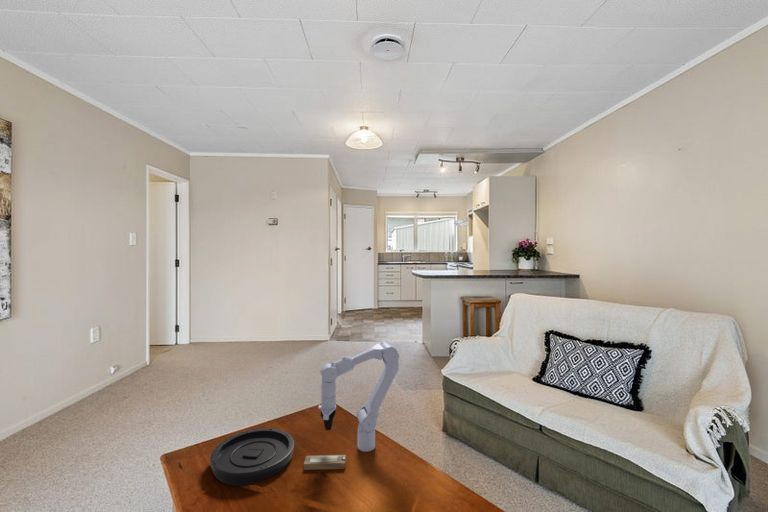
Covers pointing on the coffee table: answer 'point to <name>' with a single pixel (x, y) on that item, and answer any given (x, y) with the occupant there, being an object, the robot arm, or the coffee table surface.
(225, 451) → the round tray
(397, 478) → the coffee table surface
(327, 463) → the frame
